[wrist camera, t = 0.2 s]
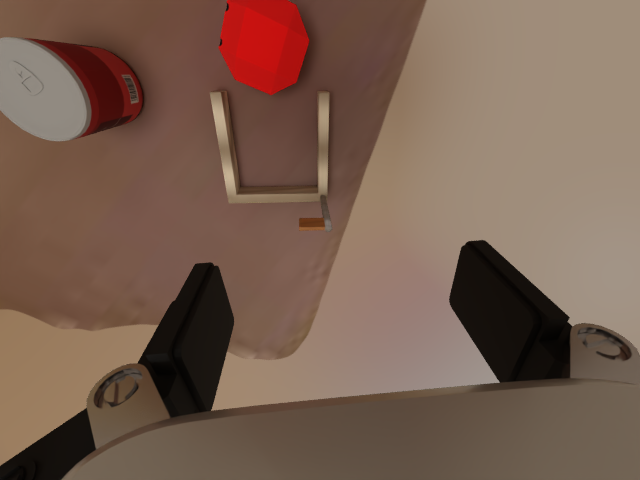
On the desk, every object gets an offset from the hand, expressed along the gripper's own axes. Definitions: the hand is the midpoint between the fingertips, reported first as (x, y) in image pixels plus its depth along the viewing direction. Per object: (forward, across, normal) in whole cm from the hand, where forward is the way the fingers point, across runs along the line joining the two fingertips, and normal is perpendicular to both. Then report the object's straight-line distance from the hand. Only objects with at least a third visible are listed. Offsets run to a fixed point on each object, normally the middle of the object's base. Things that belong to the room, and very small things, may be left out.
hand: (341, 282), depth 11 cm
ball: (+31, +4, -10) cm, 33 cm away
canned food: (+31, +23, -7) cm, 39 cm away
